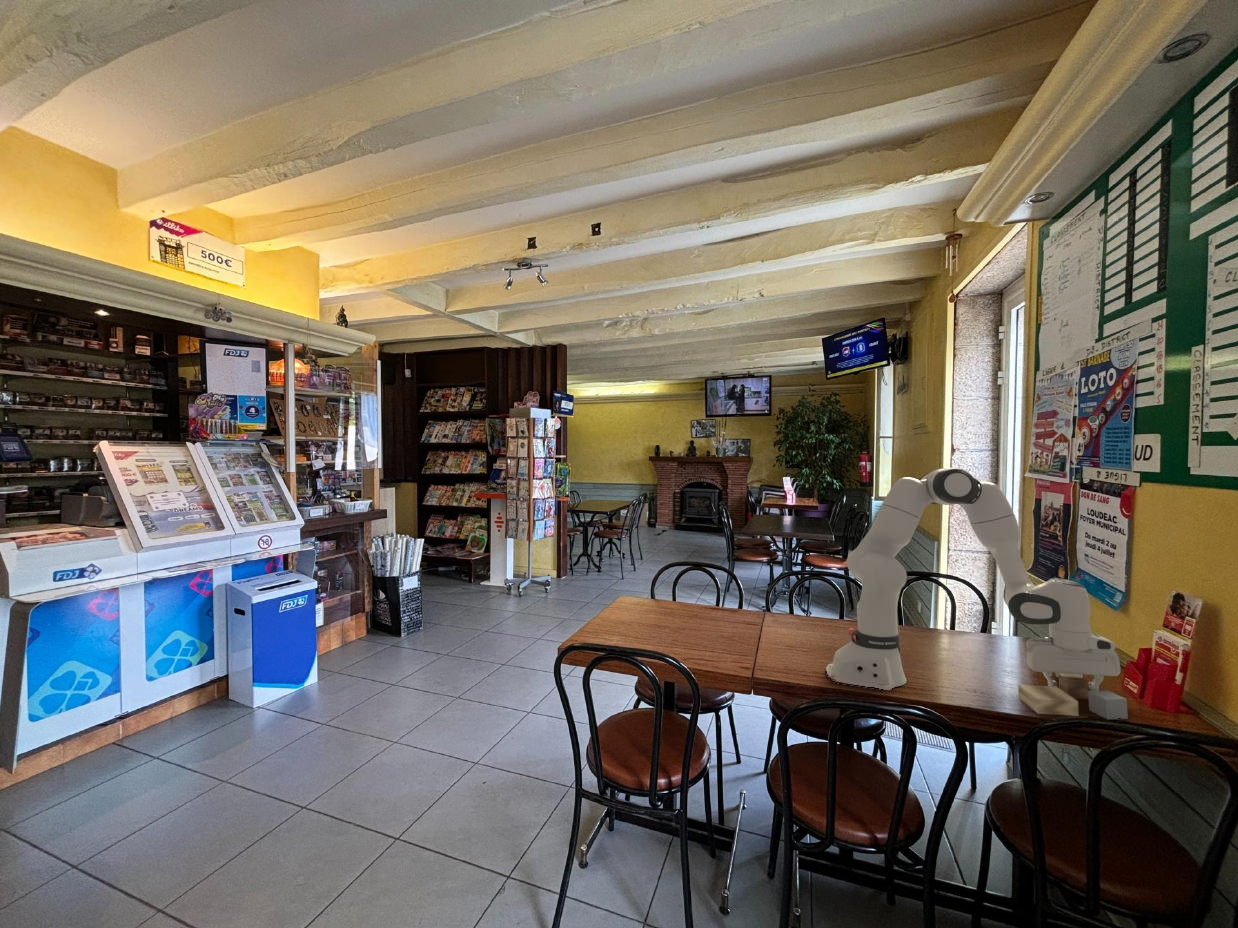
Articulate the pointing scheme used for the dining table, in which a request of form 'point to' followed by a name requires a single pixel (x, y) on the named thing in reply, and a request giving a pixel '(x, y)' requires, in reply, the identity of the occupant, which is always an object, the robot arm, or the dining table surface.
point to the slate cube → (1108, 704)
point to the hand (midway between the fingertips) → (1073, 688)
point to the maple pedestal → (1048, 700)
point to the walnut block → (1073, 685)
